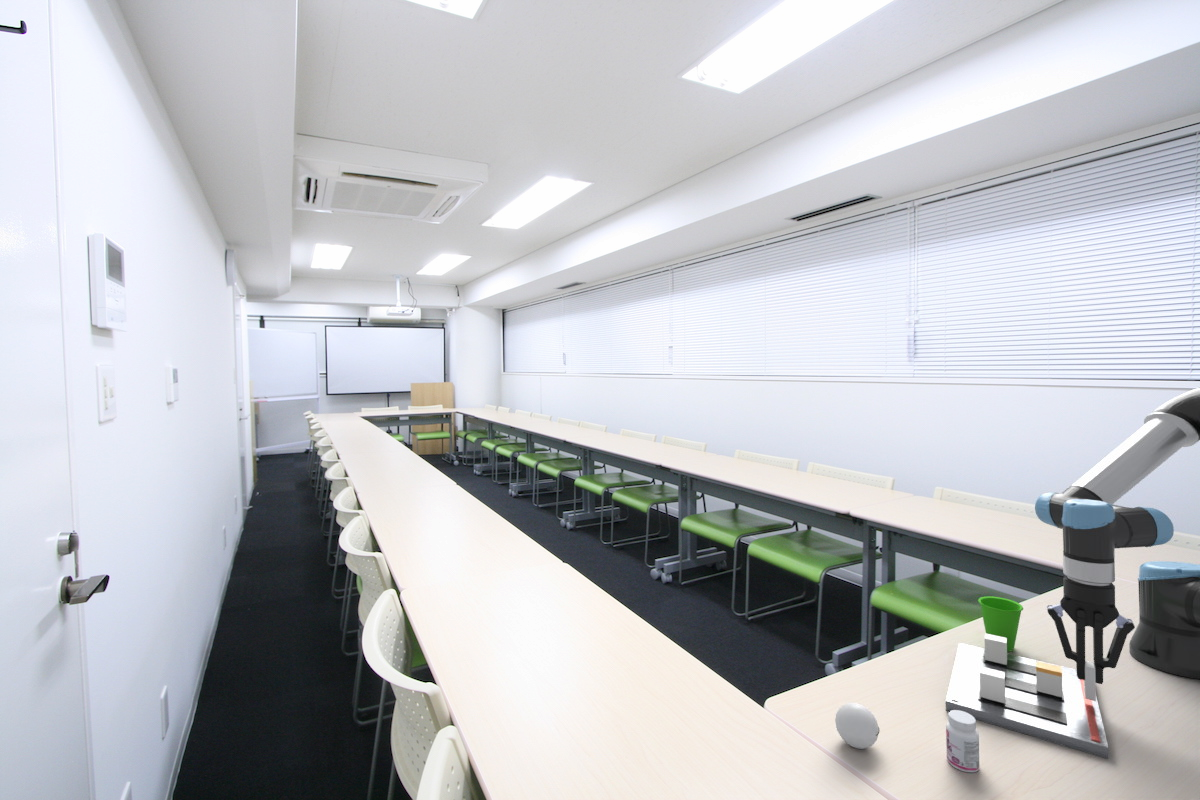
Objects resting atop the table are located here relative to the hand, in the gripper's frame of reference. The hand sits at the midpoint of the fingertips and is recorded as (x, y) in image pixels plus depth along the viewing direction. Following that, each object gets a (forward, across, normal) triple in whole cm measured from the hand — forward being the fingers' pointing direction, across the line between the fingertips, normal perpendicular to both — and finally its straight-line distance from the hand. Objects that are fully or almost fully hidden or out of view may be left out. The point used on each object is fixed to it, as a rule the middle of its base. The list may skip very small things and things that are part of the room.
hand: (1089, 696), depth 105 cm
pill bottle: (+4, +19, +31) cm, 36 cm away
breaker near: (+1, +15, +9) cm, 18 cm away
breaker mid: (+1, +6, 0) cm, 6 cm away
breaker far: (+1, +15, -9) cm, 18 cm away
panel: (+4, +11, 0) cm, 11 cm away
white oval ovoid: (+4, +35, +35) cm, 49 cm away
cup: (+4, +15, -23) cm, 28 cm away
